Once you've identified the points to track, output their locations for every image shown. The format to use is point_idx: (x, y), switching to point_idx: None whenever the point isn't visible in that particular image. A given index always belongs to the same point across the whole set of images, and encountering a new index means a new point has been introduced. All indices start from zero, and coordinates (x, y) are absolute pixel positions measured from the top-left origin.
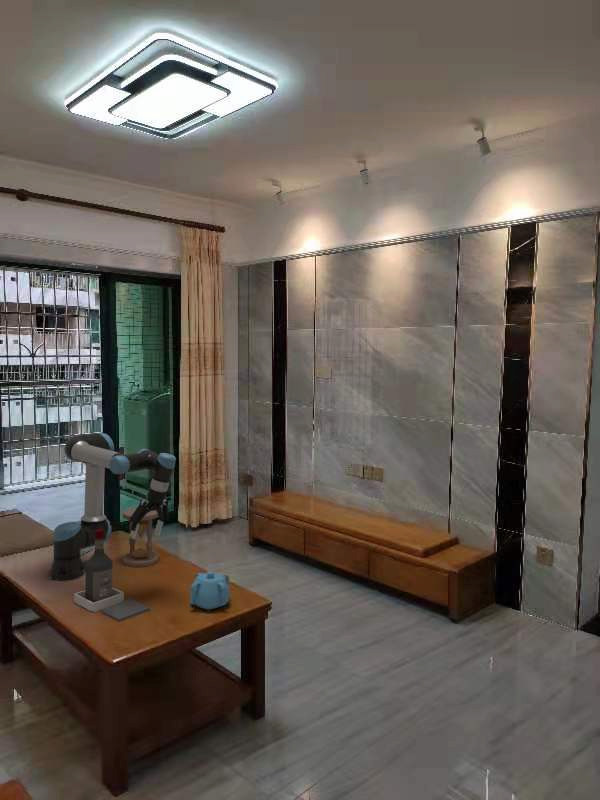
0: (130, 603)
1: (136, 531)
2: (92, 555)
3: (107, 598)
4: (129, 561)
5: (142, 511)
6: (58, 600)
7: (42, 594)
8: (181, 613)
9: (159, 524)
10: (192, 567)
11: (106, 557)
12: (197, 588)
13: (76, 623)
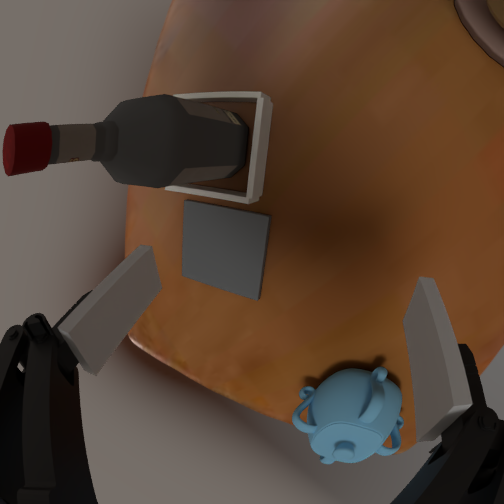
0: (247, 239)
1: (125, 326)
2: (106, 118)
3: (199, 193)
4: (464, 8)
5: (37, 461)
6: (175, 66)
7: (179, 17)
8: (286, 365)
9: (428, 392)
10: None
11: (127, 171)
12: (311, 417)
13: (137, 203)
